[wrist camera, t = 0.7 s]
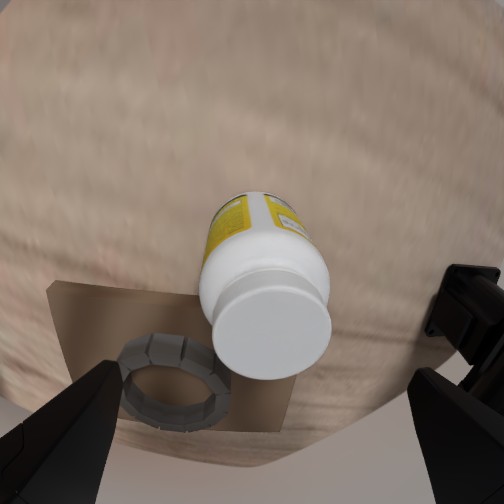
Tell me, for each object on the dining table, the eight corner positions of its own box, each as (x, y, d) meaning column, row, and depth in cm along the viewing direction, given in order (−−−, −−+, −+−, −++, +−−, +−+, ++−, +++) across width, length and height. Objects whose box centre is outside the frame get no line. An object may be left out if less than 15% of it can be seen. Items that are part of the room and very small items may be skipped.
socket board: (307, 302, 21) (318, 334, 18) (278, 419, 26) (282, 449, 23) (55, 280, 20) (32, 305, 16) (88, 399, 25) (77, 426, 21)
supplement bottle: (211, 274, 20) (195, 393, 11) (209, 189, 18) (180, 262, 9) (296, 274, 20) (336, 388, 11) (303, 191, 18) (366, 262, 9)
